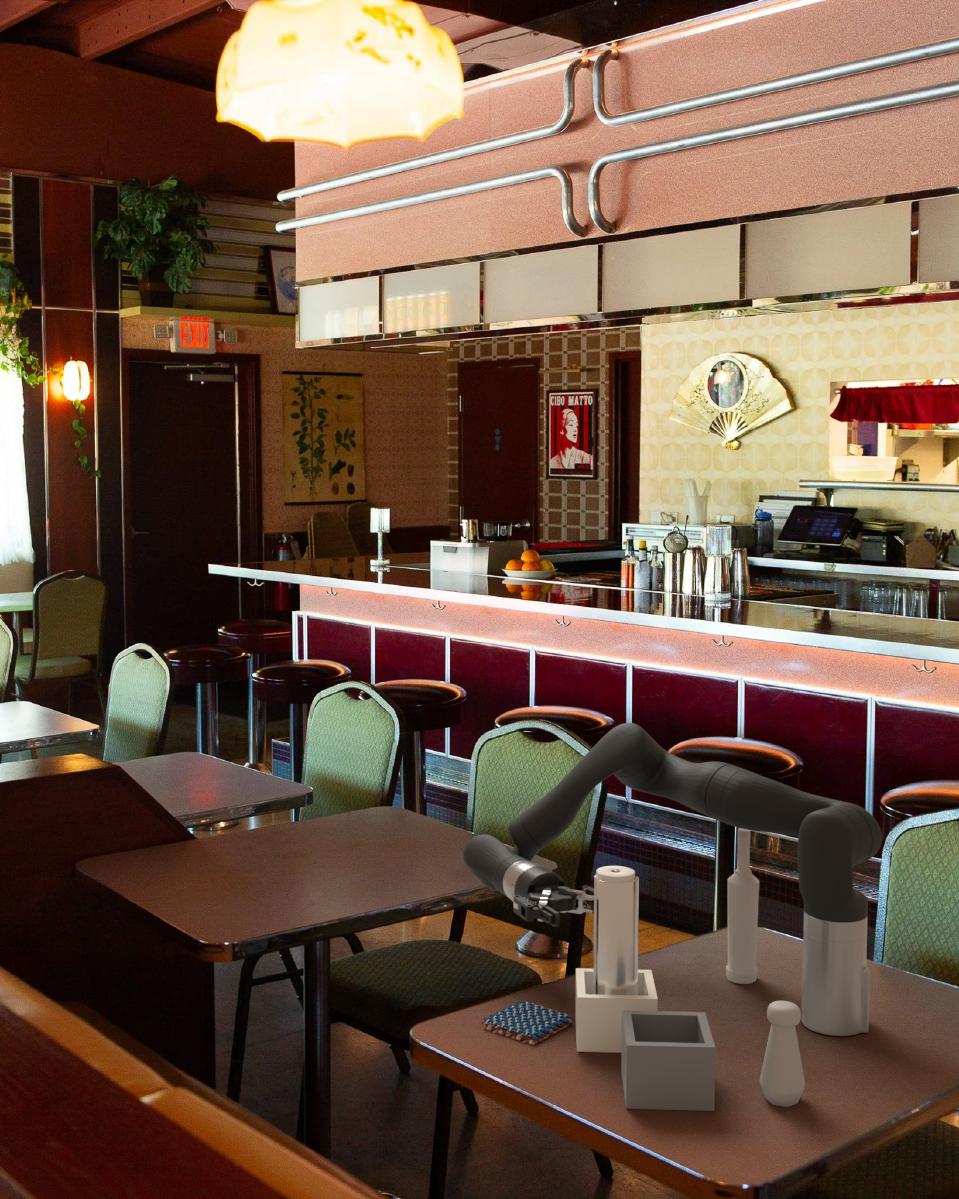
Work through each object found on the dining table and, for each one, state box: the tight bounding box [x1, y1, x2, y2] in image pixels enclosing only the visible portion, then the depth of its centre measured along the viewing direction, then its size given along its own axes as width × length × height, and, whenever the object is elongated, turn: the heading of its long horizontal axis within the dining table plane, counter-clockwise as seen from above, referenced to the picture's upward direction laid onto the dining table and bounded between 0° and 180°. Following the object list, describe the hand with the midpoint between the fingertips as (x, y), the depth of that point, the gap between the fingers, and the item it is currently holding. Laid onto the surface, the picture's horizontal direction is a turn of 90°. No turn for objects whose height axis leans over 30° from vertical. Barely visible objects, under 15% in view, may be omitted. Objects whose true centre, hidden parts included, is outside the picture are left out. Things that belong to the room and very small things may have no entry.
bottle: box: [725, 828, 760, 985], centre depth 213 cm, size 5×5×25 cm
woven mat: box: [481, 1000, 574, 1046], centre depth 195 cm, size 10×11×2 cm
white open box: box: [574, 967, 659, 1054], centre depth 191 cm, size 11×11×8 cm
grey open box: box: [620, 1010, 716, 1112], centre depth 174 cm, size 11×11×8 cm
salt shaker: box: [759, 1000, 806, 1108], centre depth 171 cm, size 6×6×13 cm
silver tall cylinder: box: [592, 865, 640, 995], centre depth 191 cm, size 6×6×25 cm
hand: (582, 916), depth 199 cm, fingers open, 8 cm apart
